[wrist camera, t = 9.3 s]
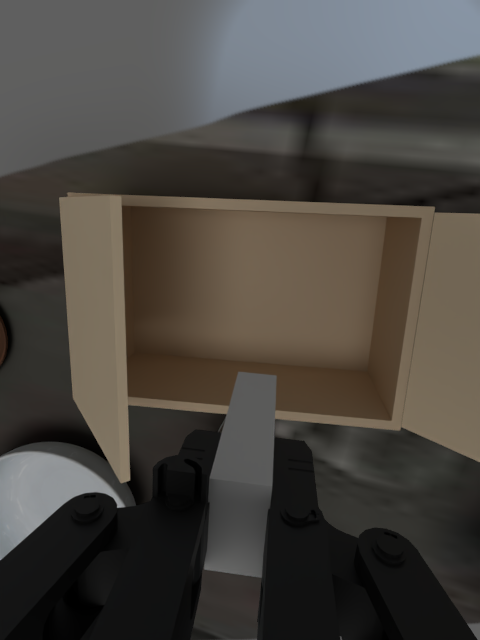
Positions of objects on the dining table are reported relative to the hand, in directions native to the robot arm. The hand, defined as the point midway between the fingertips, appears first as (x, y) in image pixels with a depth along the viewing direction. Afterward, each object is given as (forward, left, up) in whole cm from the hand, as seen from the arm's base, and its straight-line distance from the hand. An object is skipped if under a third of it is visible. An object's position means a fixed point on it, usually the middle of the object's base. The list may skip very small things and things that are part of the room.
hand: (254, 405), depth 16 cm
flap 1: (-1, +12, -12) cm, 17 cm away
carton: (-1, +3, -29) cm, 29 cm away
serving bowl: (-30, +25, -30) cm, 49 cm away
